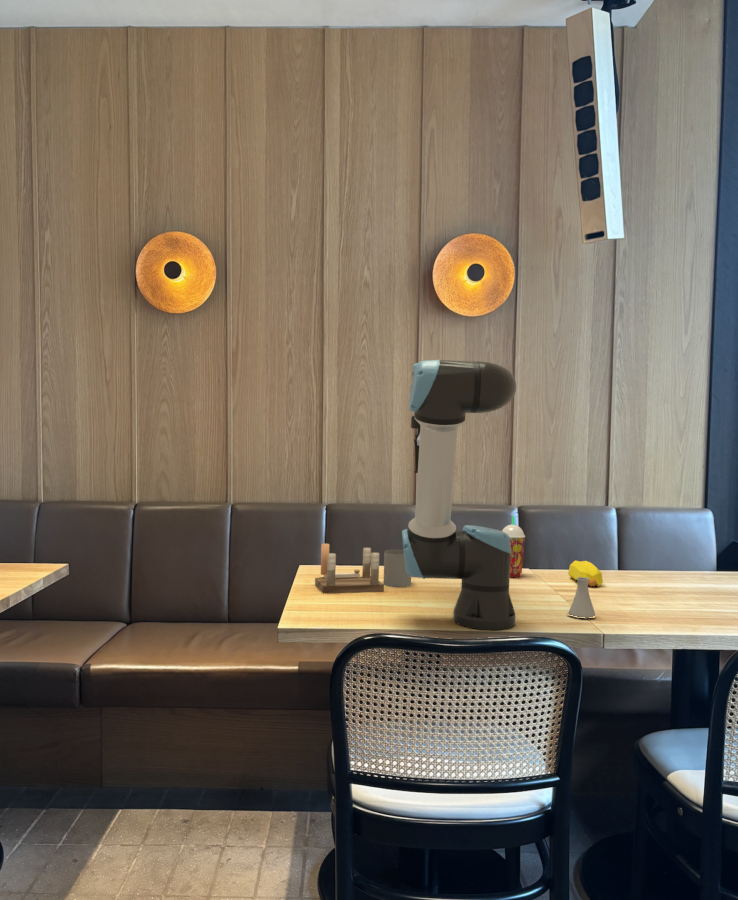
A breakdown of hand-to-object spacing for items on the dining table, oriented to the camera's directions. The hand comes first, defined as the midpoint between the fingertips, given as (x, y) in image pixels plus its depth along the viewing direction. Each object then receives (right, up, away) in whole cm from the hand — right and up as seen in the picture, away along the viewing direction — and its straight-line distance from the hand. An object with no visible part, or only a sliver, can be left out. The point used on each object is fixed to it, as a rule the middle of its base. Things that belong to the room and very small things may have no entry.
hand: (421, 495), depth 205 cm
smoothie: (+32, -29, +25) cm, 50 cm away
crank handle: (-24, -25, +4) cm, 35 cm away
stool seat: (-22, -27, 0) cm, 35 cm away
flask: (+39, -30, -26) cm, 56 cm away
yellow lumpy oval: (+54, -30, +19) cm, 65 cm away
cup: (-7, -28, +7) cm, 30 cm away
